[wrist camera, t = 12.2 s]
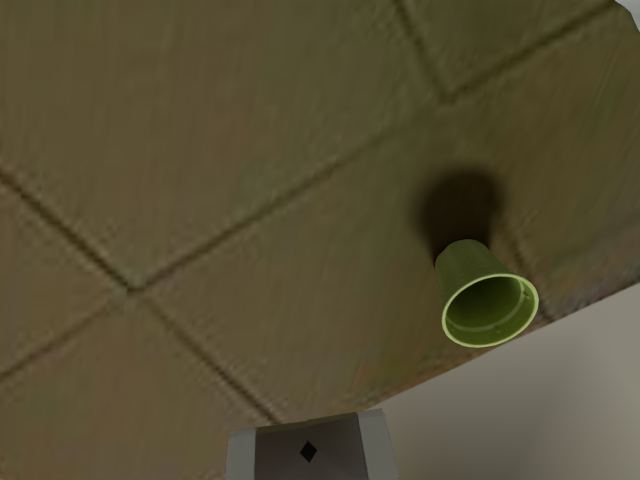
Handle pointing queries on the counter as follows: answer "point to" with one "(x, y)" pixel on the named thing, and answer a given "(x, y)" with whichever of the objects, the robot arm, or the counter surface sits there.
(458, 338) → the plant pot
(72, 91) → the counter surface
